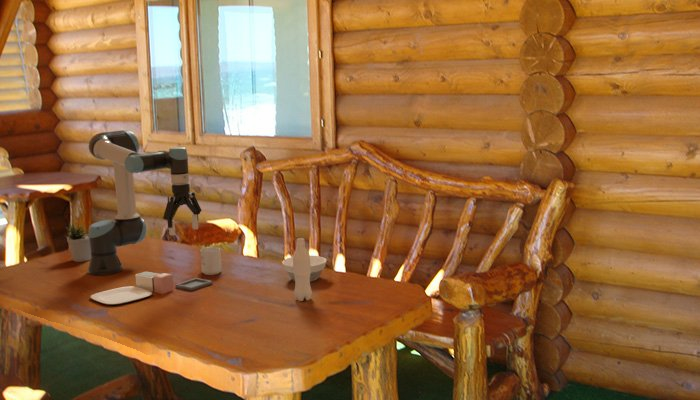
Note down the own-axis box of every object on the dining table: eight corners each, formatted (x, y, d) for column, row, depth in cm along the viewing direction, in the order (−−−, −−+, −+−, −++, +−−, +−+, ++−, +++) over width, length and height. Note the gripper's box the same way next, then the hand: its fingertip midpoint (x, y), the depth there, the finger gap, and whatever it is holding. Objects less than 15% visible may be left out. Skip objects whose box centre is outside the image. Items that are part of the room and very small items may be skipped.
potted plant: (74, 256, 416) (70, 218, 412) (99, 256, 414) (96, 218, 410) (62, 263, 403) (58, 223, 400) (88, 263, 402) (84, 223, 398)
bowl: (301, 288, 346) (300, 269, 345) (274, 279, 361) (273, 261, 359) (336, 278, 359) (335, 260, 357) (308, 270, 373) (307, 253, 372)
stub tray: (175, 287, 353) (175, 284, 352) (196, 281, 362) (196, 277, 362) (191, 291, 347) (191, 287, 347) (212, 284, 356) (212, 280, 356)
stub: (154, 292, 347) (153, 275, 346) (165, 288, 352) (164, 272, 351) (162, 293, 344) (161, 277, 343) (173, 290, 349) (172, 274, 348)
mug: (225, 272, 375) (223, 249, 373) (208, 276, 369) (206, 252, 367) (211, 268, 384) (210, 244, 382) (195, 271, 378) (193, 248, 377)
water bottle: (314, 297, 332) (312, 237, 327) (308, 302, 325) (305, 241, 321) (298, 296, 334) (295, 236, 330) (291, 301, 327) (288, 240, 323)
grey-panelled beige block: (136, 287, 355) (135, 274, 353) (147, 284, 359) (146, 271, 358) (153, 291, 348) (152, 277, 347) (164, 288, 353) (163, 274, 352)
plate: (131, 288, 356) (131, 284, 356) (158, 297, 341) (158, 293, 341) (84, 299, 341) (84, 295, 341) (110, 309, 326) (110, 305, 326)
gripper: (164, 188, 340) (168, 238, 343) (207, 179, 360) (210, 227, 363) (152, 187, 344) (156, 236, 348) (195, 179, 364) (198, 225, 368)
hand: (184, 232), depth 356 cm, fingers open, 13 cm apart
